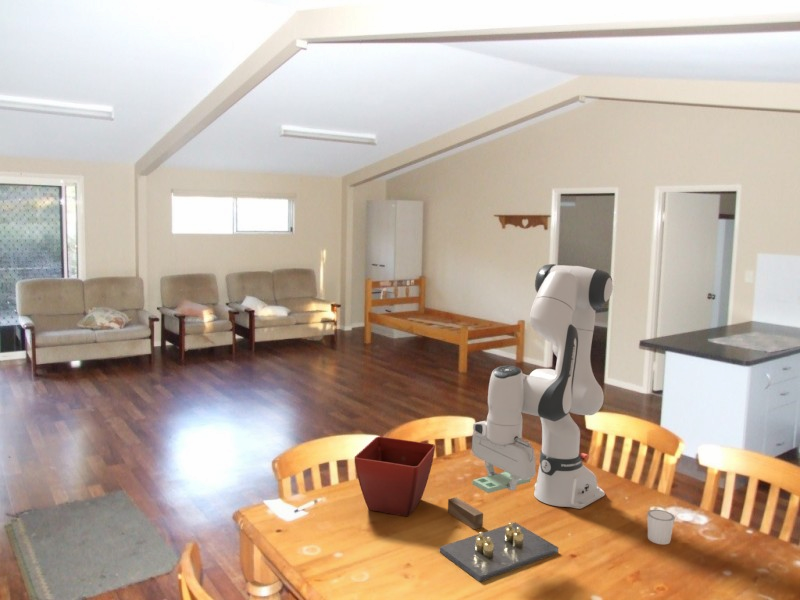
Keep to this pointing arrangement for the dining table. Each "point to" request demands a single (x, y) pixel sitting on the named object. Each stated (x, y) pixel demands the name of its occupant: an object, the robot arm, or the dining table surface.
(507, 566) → the peg assembly base
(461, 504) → the stand
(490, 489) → the board
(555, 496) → the robot arm
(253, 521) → the dining table surface
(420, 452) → the plant pot
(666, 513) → the white cup
